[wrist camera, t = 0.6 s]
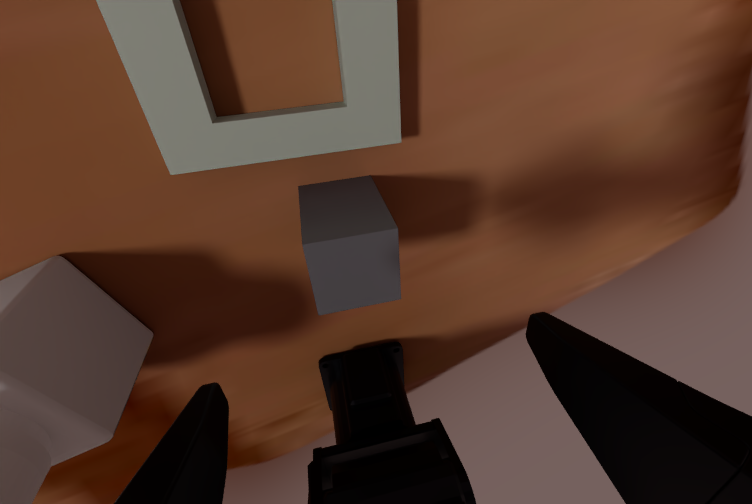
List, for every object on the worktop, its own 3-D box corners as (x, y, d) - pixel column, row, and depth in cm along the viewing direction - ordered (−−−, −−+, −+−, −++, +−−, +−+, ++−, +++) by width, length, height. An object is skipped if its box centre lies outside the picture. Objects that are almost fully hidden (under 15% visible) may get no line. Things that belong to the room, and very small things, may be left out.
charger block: (375, 235, 22) (400, 298, 17) (311, 247, 22) (318, 315, 17) (370, 175, 20) (397, 228, 15) (298, 186, 19) (302, 244, 14)
